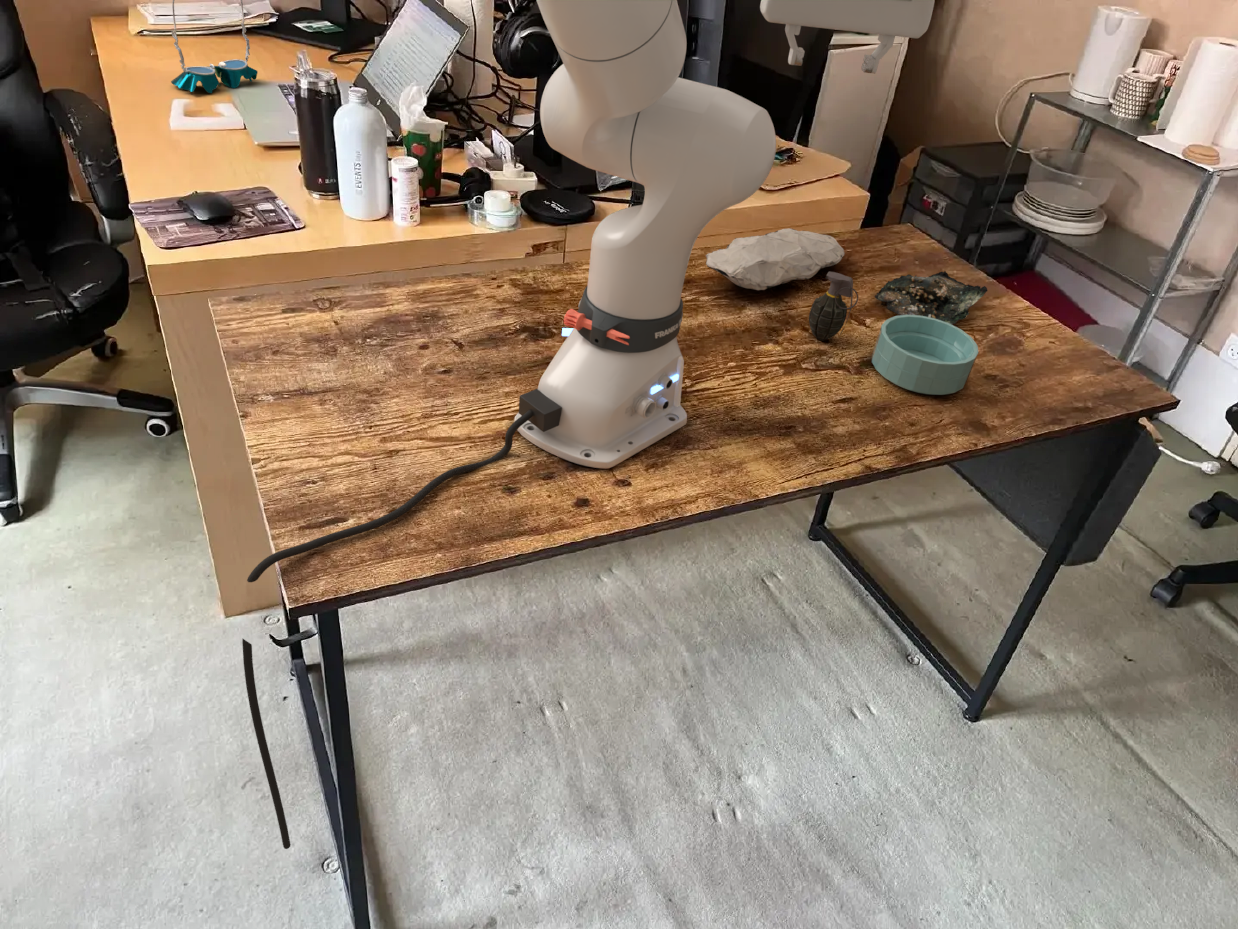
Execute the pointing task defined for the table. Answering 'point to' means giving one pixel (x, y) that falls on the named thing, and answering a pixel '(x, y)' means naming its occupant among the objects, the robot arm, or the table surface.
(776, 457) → the table surface
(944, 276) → the decorative rock
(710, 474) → the table surface
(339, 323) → the table surface
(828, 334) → the grenade
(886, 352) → the bowl
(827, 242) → the stone
